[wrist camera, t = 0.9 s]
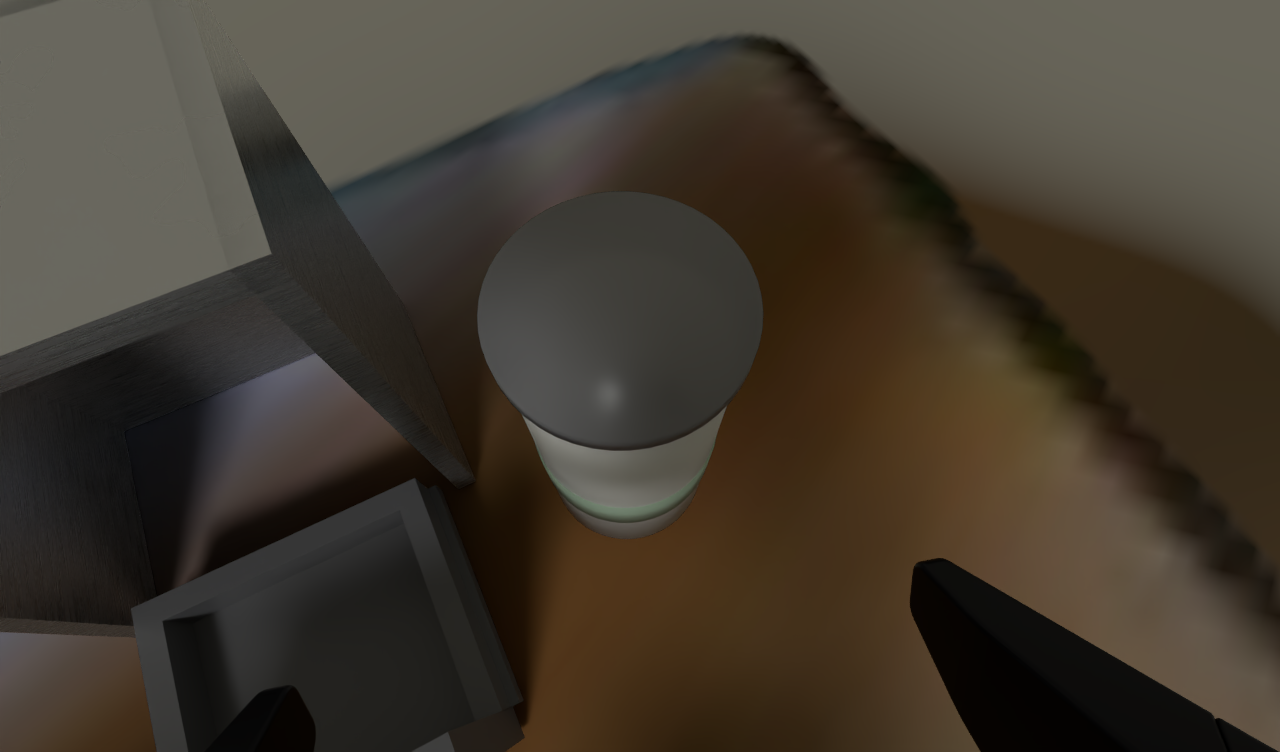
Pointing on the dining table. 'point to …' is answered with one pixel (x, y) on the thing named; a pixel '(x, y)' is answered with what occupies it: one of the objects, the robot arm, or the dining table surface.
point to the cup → (621, 349)
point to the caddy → (157, 285)
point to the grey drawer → (338, 637)
